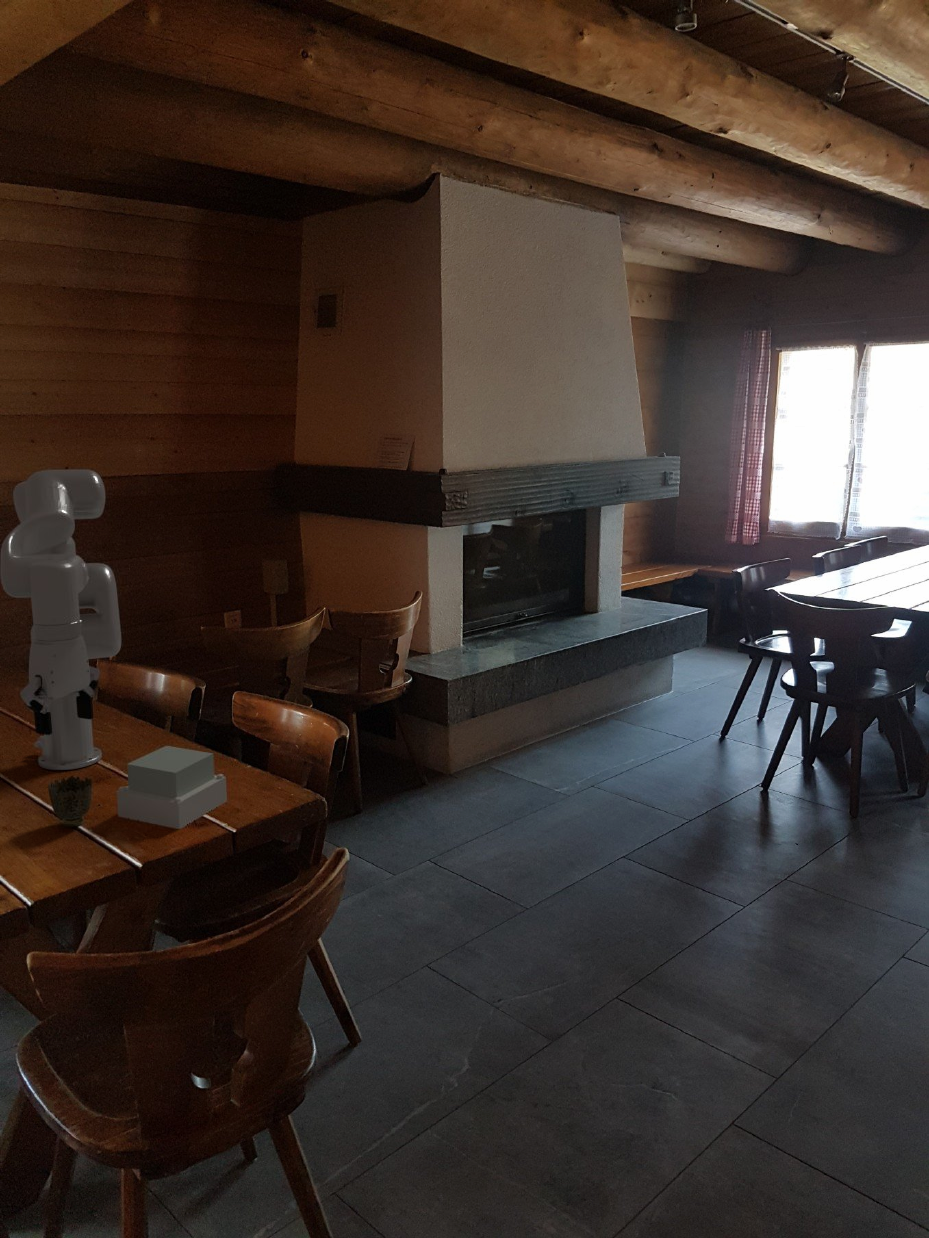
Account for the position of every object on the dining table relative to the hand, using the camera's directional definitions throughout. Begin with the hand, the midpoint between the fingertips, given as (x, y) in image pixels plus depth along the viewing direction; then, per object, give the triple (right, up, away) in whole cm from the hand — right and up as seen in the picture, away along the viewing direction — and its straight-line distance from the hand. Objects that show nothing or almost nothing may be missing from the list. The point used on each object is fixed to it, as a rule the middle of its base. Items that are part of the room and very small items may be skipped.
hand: (65, 725), depth 173 cm
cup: (0, -19, +4) cm, 19 cm away
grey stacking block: (+16, -17, +11) cm, 26 cm away
